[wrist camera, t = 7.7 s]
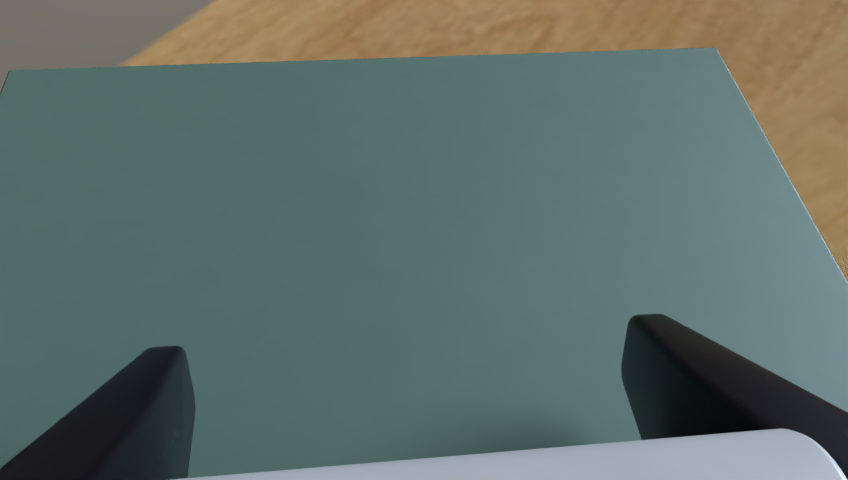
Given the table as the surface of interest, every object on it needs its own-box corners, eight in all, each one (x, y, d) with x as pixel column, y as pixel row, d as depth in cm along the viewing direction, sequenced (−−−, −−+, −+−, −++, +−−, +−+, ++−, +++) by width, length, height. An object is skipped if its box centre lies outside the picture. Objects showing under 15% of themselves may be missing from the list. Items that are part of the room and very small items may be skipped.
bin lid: (1056, 751, 8) (1619, 717, 5) (-275, 927, 7) (-1058, 1087, 3) (703, 76, 16) (804, -153, 12) (24, 100, 15) (-106, -149, 11)
